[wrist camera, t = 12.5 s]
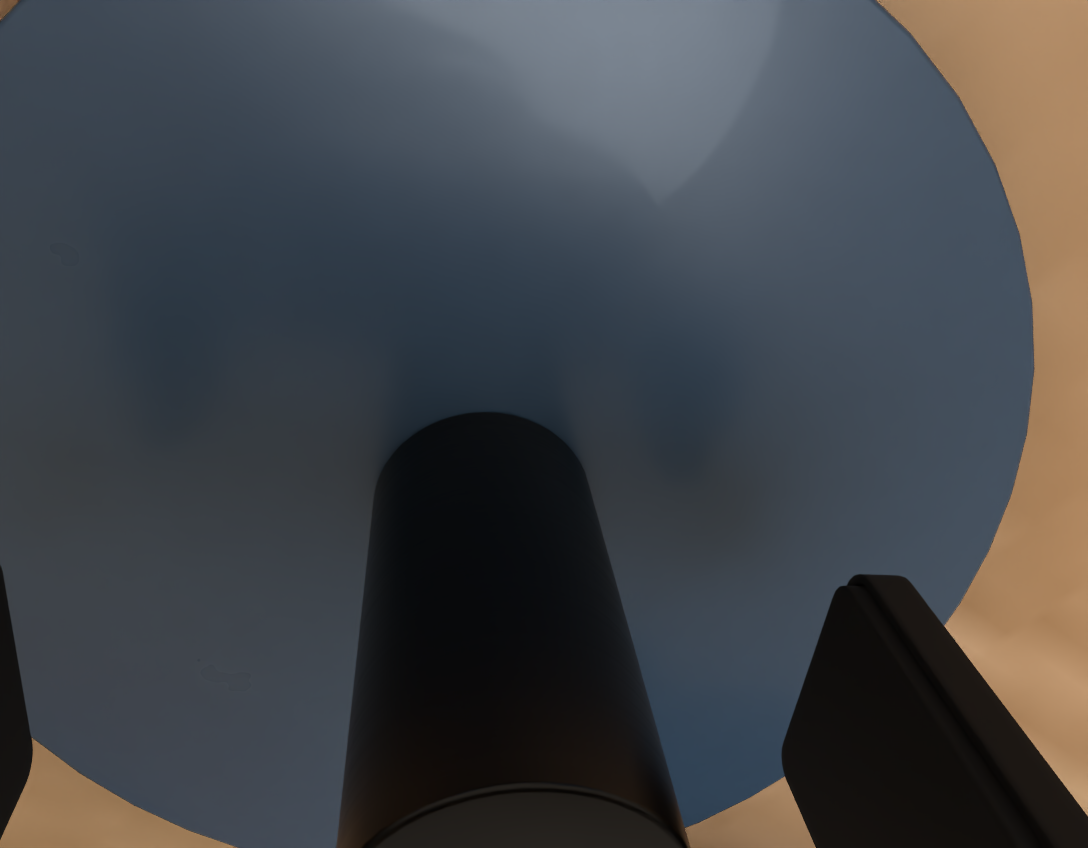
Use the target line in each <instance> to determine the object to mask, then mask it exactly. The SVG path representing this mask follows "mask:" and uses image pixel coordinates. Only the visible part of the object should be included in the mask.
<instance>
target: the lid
mask: <svg viewBox="0 0 1088 848" xmlns="http://www.w3.org/2000/svg"><path fill="white" fill-rule="evenodd" d="M1033 376H1034V345H1033V313H1032V299H1031V294H1030V288H1029V283H1028V277H1027V272H1026V267H1025V261H1024V256H1023V250H1022V245H1021V239H1020V234H1019V231H1018V228H1017V225H1016V223H1015V220H1014V217H1013V214H1012V211H1011V208H1010V205H1009V203H1008V200H1007V197H1006V194H1005V191H1004V188H1003V185H1002V182H1001V180H1000V177H999V174H998V171H997V168H996V165H995V163H994V161H993V159H992V157H991V156H990V154H989V152H988V150H987V148H986V146H985V144H984V142H983V141H982V139H981V137H980V135H979V133H978V131H977V129H976V128H975V126H974V124H973V122H972V120H971V118H970V116H969V115H968V113H967V111H966V109H965V107H964V105H963V103H962V102H961V100H960V98H959V96H958V95H957V94H956V92H955V91H954V90H953V88H952V87H951V86H950V84H949V83H948V82H947V80H946V79H945V78H944V77H943V75H942V74H941V73H940V71H939V70H938V69H937V67H936V66H935V65H934V63H933V62H932V61H931V60H930V58H929V57H928V56H927V54H926V53H925V52H924V50H923V49H922V48H921V46H920V45H919V44H918V42H917V41H916V40H915V39H914V37H913V36H912V35H911V33H910V32H909V31H908V30H907V29H906V28H905V27H904V26H903V25H902V24H901V23H899V22H898V21H897V20H896V19H895V18H894V17H893V16H892V15H891V14H890V13H889V12H888V11H887V10H886V9H885V8H884V7H883V6H882V5H880V4H879V3H878V2H877V1H876V0H19V1H18V2H17V3H16V4H15V5H14V7H13V8H12V9H11V10H10V11H9V12H8V13H7V14H6V15H5V16H4V17H3V18H2V19H1V20H0V565H1V568H2V571H3V576H4V582H5V588H6V593H7V599H8V605H9V611H10V617H11V623H12V628H13V634H14V640H15V646H16V652H17V658H18V663H19V669H20V675H21V681H22V687H23V693H24V698H25V704H26V710H27V716H28V722H29V728H30V733H31V737H32V738H33V739H35V740H36V741H37V742H39V743H40V744H41V745H43V746H44V747H45V748H47V749H48V750H49V751H51V752H52V753H53V754H55V755H56V756H57V757H59V758H60V759H61V760H63V761H64V762H65V763H67V764H68V765H69V766H71V767H72V768H73V769H75V770H76V771H77V772H79V773H80V774H82V775H83V776H85V777H87V778H89V779H90V780H92V781H94V782H95V783H97V784H99V785H100V786H102V787H104V788H105V789H107V790H109V791H110V792H112V793H114V794H116V795H117V796H119V797H121V798H122V799H124V800H126V801H127V802H129V803H131V804H132V805H134V806H137V807H139V808H141V809H143V810H145V811H147V812H150V813H152V814H154V815H156V816H158V817H160V818H163V819H165V820H167V821H169V822H171V823H173V824H176V825H178V826H180V827H182V828H184V829H186V830H189V831H192V832H194V833H197V834H200V835H203V836H206V837H209V838H212V839H215V840H217V841H220V842H223V843H226V844H229V845H232V846H235V847H238V848H690V845H689V842H688V838H687V835H686V831H685V828H686V827H688V826H691V825H693V824H696V823H699V822H701V821H703V820H705V819H707V818H709V817H711V816H713V815H715V814H717V813H719V812H721V811H723V810H725V809H727V808H729V807H731V806H733V805H736V804H738V803H740V802H742V801H744V800H746V799H748V798H750V797H752V796H753V795H755V794H757V793H758V792H760V791H761V790H763V789H765V788H766V787H768V786H770V785H771V784H773V783H775V782H776V781H778V780H780V779H781V778H783V777H784V776H785V775H784V772H783V767H782V757H781V755H782V746H783V742H784V739H785V736H786V733H787V730H788V727H789V724H790V721H791V718H792V715H793V712H794V709H795V706H796V704H797V701H798V698H799V695H800V692H801V689H802V686H803V683H804V680H805V677H806V674H807V671H808V668H809V665H810V662H811V660H812V657H813V654H814V651H815V648H816V645H817V642H818V639H819V636H820V633H821V630H822V627H823V624H824V621H825V618H826V616H827V613H828V610H829V607H830V604H831V601H832V598H833V595H834V593H835V591H836V590H837V589H838V588H839V587H840V586H847V584H848V582H849V580H850V579H851V578H852V577H853V576H854V575H858V574H873V575H900V576H903V577H906V578H907V579H908V580H909V581H910V582H911V583H912V585H913V586H914V587H915V588H916V590H917V591H918V592H919V594H920V595H921V596H922V598H923V599H924V600H925V602H926V603H927V604H928V606H929V607H930V608H931V610H932V611H933V612H934V614H935V615H936V616H937V618H938V619H939V620H940V622H941V623H942V624H943V626H944V625H945V624H946V622H947V621H948V620H949V618H950V617H951V615H952V614H953V613H954V611H955V610H956V608H957V607H958V606H959V604H960V603H961V601H962V599H963V597H964V595H965V593H966V592H967V590H968V588H969V586H970V584H971V583H972V581H973V579H974V577H975V575H976V573H977V572H978V570H979V568H980V566H981V564H982V562H983V561H984V559H985V557H986V555H987V553H988V552H989V549H990V547H991V544H992V542H993V539H994V537H995V534H996V532H997V529H998V527H999V524H1000V522H1001V519H1002V517H1003V514H1004V512H1005V509H1006V507H1007V504H1008V502H1009V499H1010V497H1011V494H1012V490H1013V487H1014V483H1015V479H1016V475H1017V471H1018V467H1019V463H1020V459H1021V455H1022V451H1023V447H1024V443H1025V439H1026V436H1027V429H1028V420H1029V412H1030V403H1031V394H1032V385H1033Z"/></svg>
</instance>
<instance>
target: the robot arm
mask: <svg viewBox="0 0 1088 848" xmlns="http://www.w3.org/2000/svg"><path fill="white" fill-rule="evenodd" d="M32 754H33V747H32V739H31V733H30V728H29V722H28V716H27V710H26V704H25V698H24V693H23V687H22V681H21V675H20V669H19V663H18V658H17V652H16V646H15V640H14V634H13V628H12V623H11V617H10V611H9V605H8V599H7V593H6V588H5V582H4V576H3V571H2V568H1V565H0V839H1V837H2V835H3V832H4V830H5V828H6V826H7V824H8V821H9V819H10V817H11V815H12V813H13V811H14V808H15V806H16V804H17V802H18V800H19V797H20V795H21V793H22V791H23V789H24V786H25V784H26V782H27V779H28V776H29V773H30V769H31V763H32ZM781 757H782V767H783V772H784V775H785V777H786V780H787V782H788V784H789V787H790V789H791V791H792V794H793V796H794V798H795V801H796V803H797V805H798V807H799V810H800V812H801V814H802V817H803V819H804V821H805V824H806V826H807V828H808V830H809V833H810V835H811V837H812V840H813V842H814V844H815V847H816V848H1088V816H1087V815H1086V813H1085V812H1084V811H1083V809H1082V808H1081V807H1080V805H1079V804H1078V803H1077V802H1076V800H1075V799H1074V798H1073V796H1072V795H1071V794H1070V792H1069V791H1068V790H1067V788H1066V787H1065V786H1064V784H1063V783H1062V782H1061V780H1060V779H1059V778H1058V776H1057V775H1056V774H1055V772H1054V771H1053V770H1052V768H1051V767H1050V766H1049V764H1048V763H1047V762H1046V761H1045V759H1044V758H1043V757H1042V755H1041V754H1040V753H1039V751H1038V750H1037V749H1036V747H1035V746H1034V745H1033V743H1032V742H1031V741H1030V739H1029V738H1028V737H1027V735H1026V734H1025V733H1024V731H1023V730H1022V729H1021V727H1020V726H1019V725H1018V723H1017V722H1016V721H1015V719H1014V718H1013V717H1012V716H1011V714H1010V713H1009V712H1008V710H1007V709H1006V708H1005V706H1004V705H1003V704H1002V702H1001V701H1000V700H999V698H998V697H997V696H996V694H995V693H994V692H993V690H992V689H991V688H990V686H989V685H988V684H987V682H986V681H985V680H984V678H983V677H982V676H981V674H980V673H979V672H978V671H977V669H976V668H975V667H974V665H973V664H972V663H971V661H970V660H969V659H968V657H967V656H966V655H965V653H964V652H963V651H962V649H961V648H960V647H959V645H958V644H957V643H956V641H955V640H954V639H953V637H952V636H951V635H950V633H949V632H948V631H947V629H946V628H945V627H944V626H943V624H942V623H941V622H940V620H939V619H938V618H937V616H936V615H935V614H934V612H933V611H932V610H931V608H930V607H929V606H928V604H927V603H926V602H925V600H924V599H923V598H922V596H921V595H920V594H919V592H918V591H917V590H916V588H915V587H914V586H913V585H912V583H911V582H910V581H909V580H908V579H907V578H906V577H903V576H900V575H873V574H858V575H854V576H853V577H852V578H851V579H850V580H849V582H848V584H847V586H840V587H839V588H838V589H837V590H836V591H835V593H834V595H833V598H832V601H831V604H830V607H829V610H828V613H827V616H826V618H825V621H824V624H823V627H822V630H821V633H820V636H819V639H818V642H817V645H816V648H815V651H814V654H813V657H812V660H811V662H810V665H809V668H808V671H807V674H806V677H805V680H804V683H803V686H802V689H801V692H800V695H799V698H798V701H797V704H796V706H795V709H794V712H793V715H792V718H791V721H790V724H789V727H788V730H787V733H786V736H785V739H784V742H783V746H782V755H781Z"/></svg>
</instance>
